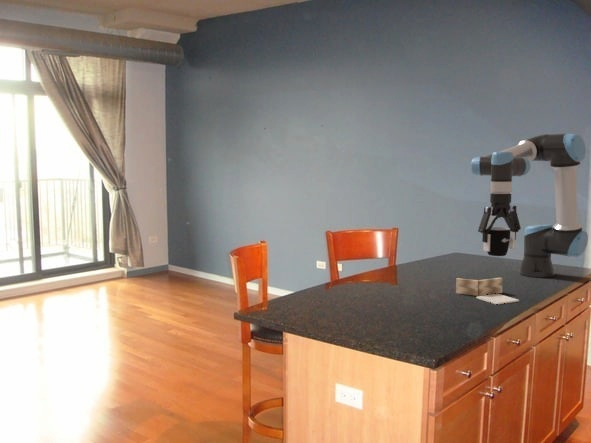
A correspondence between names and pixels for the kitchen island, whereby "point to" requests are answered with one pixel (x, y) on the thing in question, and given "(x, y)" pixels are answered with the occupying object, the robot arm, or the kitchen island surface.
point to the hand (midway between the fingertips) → (498, 249)
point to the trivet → (497, 299)
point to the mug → (499, 241)
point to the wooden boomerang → (479, 286)
